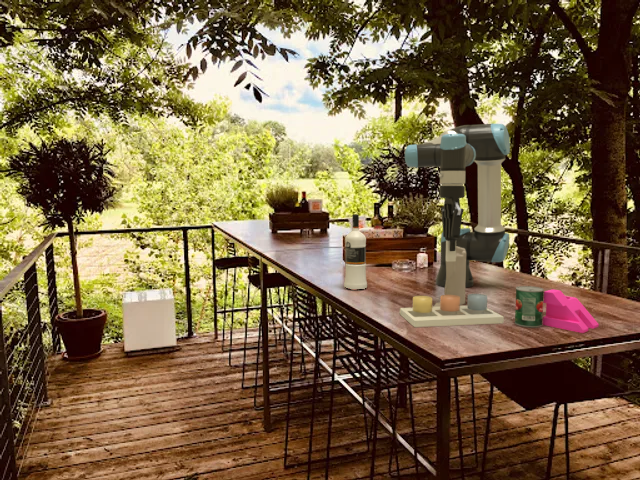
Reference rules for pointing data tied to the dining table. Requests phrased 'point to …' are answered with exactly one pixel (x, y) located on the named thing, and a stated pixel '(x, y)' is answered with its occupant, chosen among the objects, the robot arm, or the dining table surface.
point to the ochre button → (422, 304)
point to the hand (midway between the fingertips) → (450, 261)
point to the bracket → (566, 313)
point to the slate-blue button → (477, 302)
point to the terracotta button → (450, 303)
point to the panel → (451, 317)
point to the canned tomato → (529, 306)
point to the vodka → (355, 257)
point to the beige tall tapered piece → (456, 276)
